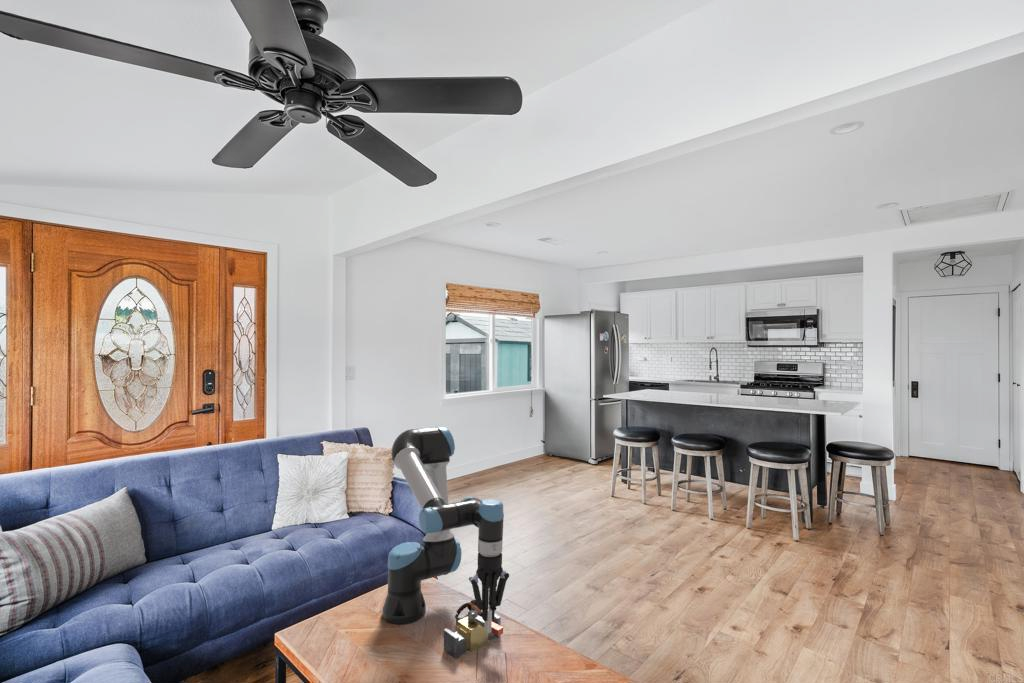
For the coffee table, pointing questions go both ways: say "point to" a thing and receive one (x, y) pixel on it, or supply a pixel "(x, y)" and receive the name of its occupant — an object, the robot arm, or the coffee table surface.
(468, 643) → the valve body
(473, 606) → the pottery mug
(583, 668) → the coffee table surface
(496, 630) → the lever
